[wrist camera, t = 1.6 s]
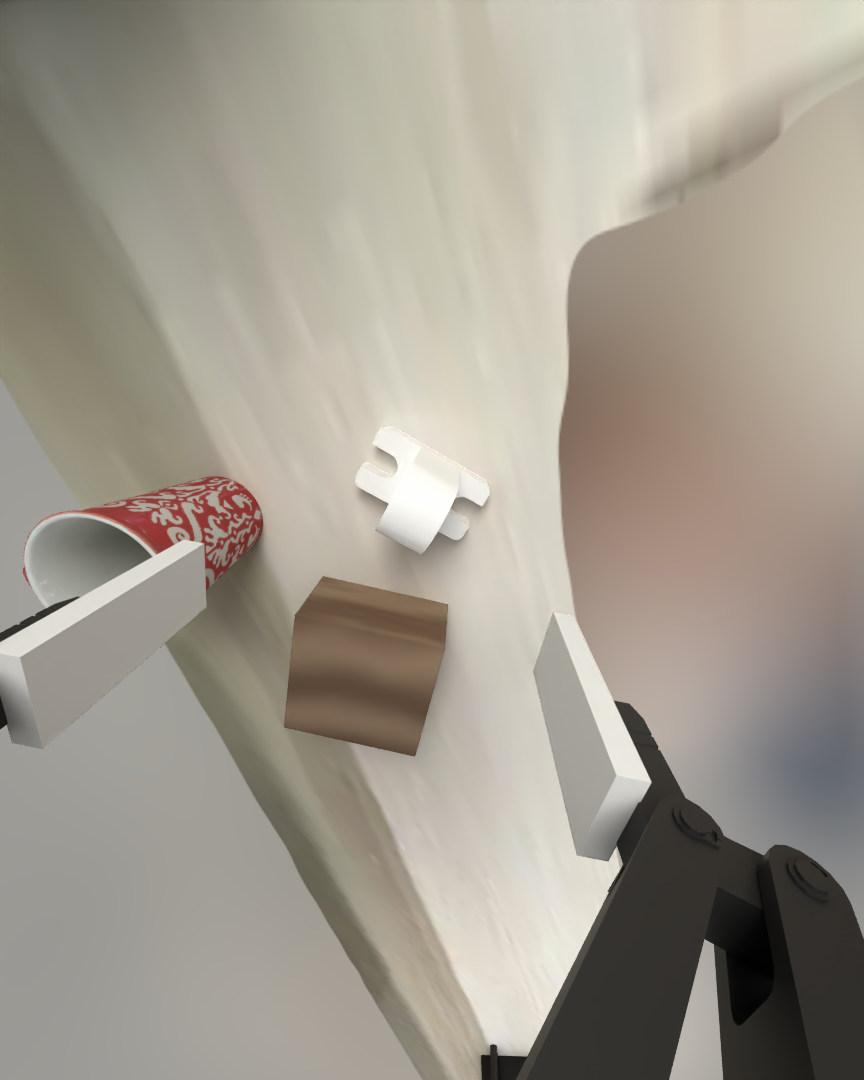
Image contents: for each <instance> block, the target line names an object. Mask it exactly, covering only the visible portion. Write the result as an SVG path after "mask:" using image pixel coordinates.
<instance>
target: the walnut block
mask: <svg viewBox="0 0 864 1080" xmlns="http://www.w3.org/2000/svg"><path fill="white" fill-rule="evenodd" d="M447 611H448V604H444V603H439V602H435V601H430V600H426V599H421V598H417V597H413V596H408V595H404V594H399V593H395V592H390V591H386V590H382V589H377V588H373V587H368V586H364V585H359V584H355V583H351V582H346V581H342V580H337V579H333V578H328V577H324V576H323V577H322V579H321V580H320V581H319V583H318V584H317V586H316V587H315V588H314V590H313V591H312V593H311V594H310V595H309V597H308V598H307V599H306V601H305V602H304V604H303V605H302V606H301V608H300V609H299V611H298V612H297V613H296V615H295V620H294V630H293V641H292V651H291V661H290V671H289V682H288V692H287V702H286V713H285V723H284V727H285V728H289V729H294V730H298V731H303V732H307V733H312V734H316V735H321V736H325V737H330V738H334V739H339V740H343V741H348V742H352V743H357V744H361V745H366V746H370V747H375V748H379V749H384V750H388V751H393V752H397V753H402V754H406V755H411V756H415V755H416V751H417V748H418V744H419V741H420V737H421V733H422V730H423V726H424V722H425V719H426V715H427V712H428V708H429V704H430V701H431V697H432V693H433V690H434V686H435V682H436V679H437V675H438V672H439V668H440V664H441V661H442V657H443V653H444V650H445V638H446V624H447Z"/></svg>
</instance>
